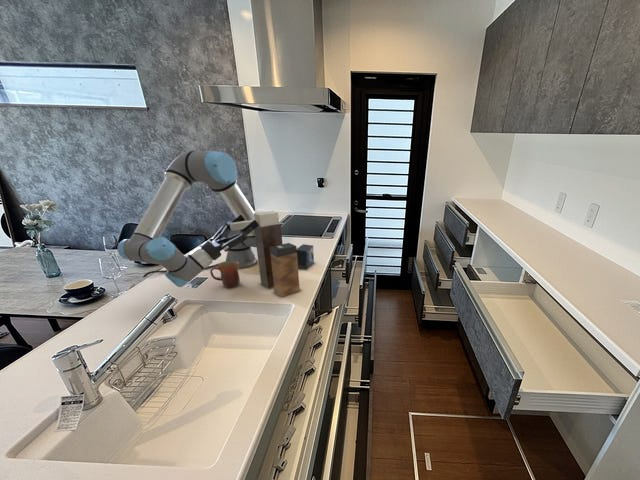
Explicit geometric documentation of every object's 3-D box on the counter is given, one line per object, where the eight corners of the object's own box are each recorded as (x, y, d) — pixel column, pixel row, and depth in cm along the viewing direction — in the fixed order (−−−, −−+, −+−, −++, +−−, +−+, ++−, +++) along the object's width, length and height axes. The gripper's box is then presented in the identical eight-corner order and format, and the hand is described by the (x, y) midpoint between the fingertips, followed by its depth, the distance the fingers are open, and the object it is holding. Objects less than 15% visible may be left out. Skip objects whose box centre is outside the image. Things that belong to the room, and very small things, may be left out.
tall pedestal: (268, 288, 137) (261, 227, 126) (261, 283, 141) (253, 224, 130) (286, 283, 143) (280, 224, 131) (278, 278, 147) (272, 221, 136)
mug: (240, 280, 144) (237, 259, 140) (243, 287, 137) (239, 266, 133) (213, 284, 139) (208, 263, 135) (213, 291, 132) (209, 270, 128)
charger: (234, 231, 119) (232, 218, 117) (229, 228, 122) (227, 216, 120) (279, 224, 132) (278, 212, 130) (273, 222, 135) (272, 210, 133)
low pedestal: (281, 297, 129) (277, 257, 122) (274, 292, 133) (270, 253, 126) (299, 290, 135) (296, 252, 128) (292, 286, 139) (289, 249, 132)
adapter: (277, 257, 122) (276, 249, 121) (270, 253, 126) (269, 246, 125) (296, 252, 128) (296, 245, 127) (289, 249, 132) (288, 242, 131)
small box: (307, 269, 158) (306, 250, 154) (295, 268, 159) (294, 249, 155) (314, 263, 168) (313, 244, 164) (303, 261, 169) (302, 243, 165)
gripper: (202, 253, 127) (242, 221, 135) (225, 269, 111) (269, 232, 119) (189, 240, 122) (231, 207, 130) (211, 255, 106) (258, 217, 114)
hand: (249, 219), depth 125 cm, fingers open, 12 cm apart
